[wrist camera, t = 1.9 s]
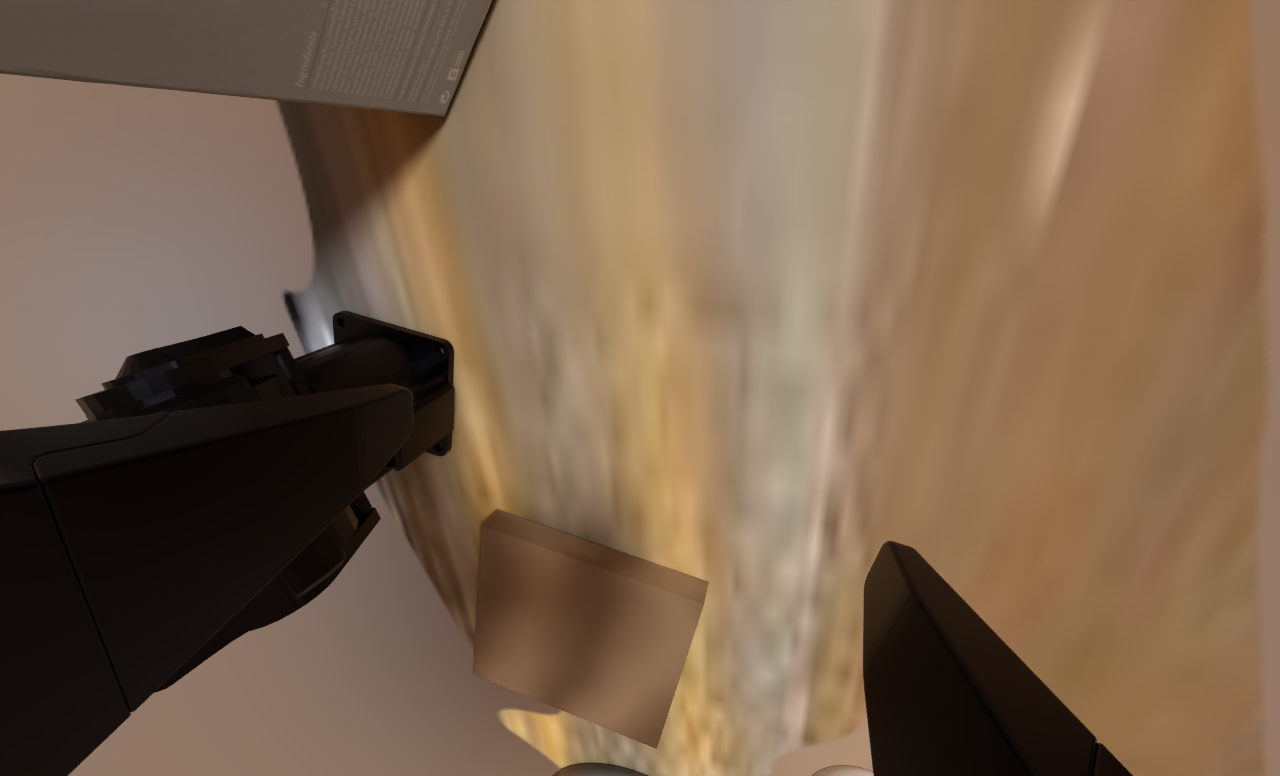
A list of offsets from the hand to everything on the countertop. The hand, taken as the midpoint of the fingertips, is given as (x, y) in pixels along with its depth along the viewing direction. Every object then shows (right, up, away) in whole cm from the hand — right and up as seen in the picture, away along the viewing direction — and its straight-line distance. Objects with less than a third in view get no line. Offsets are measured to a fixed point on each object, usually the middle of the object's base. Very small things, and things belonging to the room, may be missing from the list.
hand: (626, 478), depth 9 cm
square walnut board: (-3, -12, +21) cm, 24 cm away
